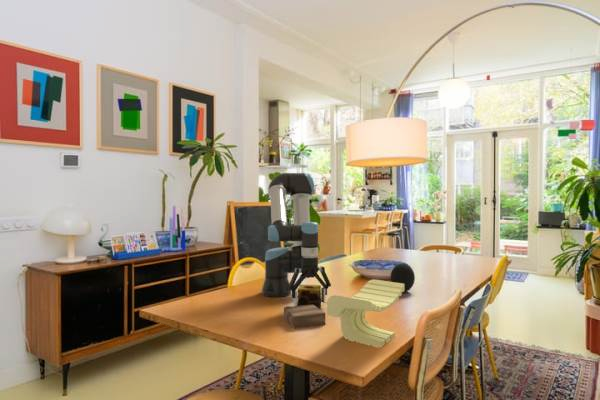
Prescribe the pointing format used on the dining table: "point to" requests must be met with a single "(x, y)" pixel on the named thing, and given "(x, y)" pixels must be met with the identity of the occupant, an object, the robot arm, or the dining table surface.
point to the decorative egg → (403, 276)
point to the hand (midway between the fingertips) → (309, 304)
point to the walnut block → (304, 316)
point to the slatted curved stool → (353, 311)
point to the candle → (309, 295)
